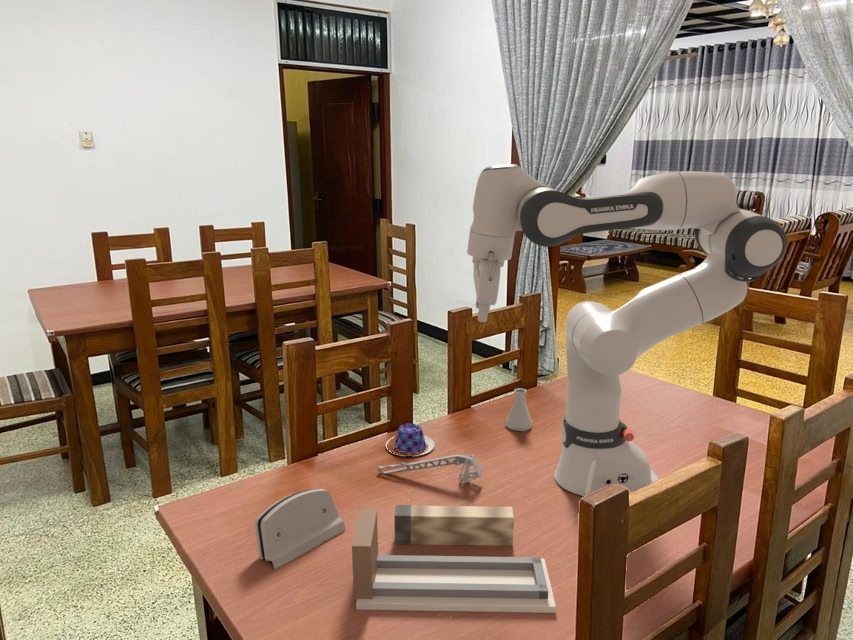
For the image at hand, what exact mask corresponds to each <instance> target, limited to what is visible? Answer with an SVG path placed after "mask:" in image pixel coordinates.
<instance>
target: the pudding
mask: <svg viewBox="0 0 853 640" xmlns="http://www.w3.org/2000/svg"><path fill="white" fill-rule="evenodd" d="M395 436H396V439H395V443H394V445H393V447H394V446H395V447H397V449H398V450H399V451H404V452H406V453H413V452H420V451H422V452H423V450H422V449H425V448H426V449H427V444H428V446H429V447H428V450H427V451H426V452H425V453H422V454H420V455H414V456H413V457H419V456H422V455H425V454H428V453H430V452H431V451H433V449H434V448H435V442H434V440H433V439H432V438H431V437H429V436H427V435H424V432H423V429H422V427H421V426H420V425H419V424H416V423H405V424H401V425H400V426H399V427H398V429H397V431H396V435H394V436H392V437H390V438H389V439H388V440H387V441H386V443H385V448H386V449H387V451H389V452H390V453H391V454H394V455H395V456H396V455H397V456H400V457H405V456H404V455H398V454H395V453H392V452H391V451H390V450H388V448H387V444H388V442H389V441H390V440H391V439H393V438H394V437H395ZM397 449H396V450H397ZM426 449H425V450H426ZM420 453H421V452H420ZM413 454H414V453H413Z"/></svg>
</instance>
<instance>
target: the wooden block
mask: <svg viewBox="0 0 853 640" xmlns="http://www.w3.org/2000/svg"><path fill="white" fill-rule="evenodd" d="M514 515H515V514H514V510H513V506H486V505H485V506H477V505H476V506H474V505H472V506H470V505H469V506H468V505H467V506H466V505H464V506H463V505H461V506H460V505H412V504H395V508H394V544H395V545H436V546H437V545H441V546H443V545H444V546H445V545H446V546H447V545H448V546H449V545H450V546H451V545H452V546H511V547H513V545H514V526H515V524H514V522H515V518H514V517H515V516H514Z"/></svg>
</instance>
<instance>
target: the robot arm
mask: <svg viewBox="0 0 853 640" xmlns="http://www.w3.org/2000/svg"><path fill="white" fill-rule="evenodd" d="M737 198H738V194H737V189H736V185H735V183H734V181H733V180H732V179H731V178H730V177H729V176H728V175H726V174H723V173H718V172H711V171H698V170H697V171H695V170H693V171H692V170H691V171H690V170H688V171H670V172H662V173H657V174H652V175H649V176H645V177H642V178H639V180H637V181H636V182H635V183H634V184H633V185H632V187H631V189H629V190H628V191H626V192H623V193H617V194H608V195H599V196H598V195H597V196H587V197H577V196H576V197H575V196H572V195H569V194H567V193H564V192H562V191H558V190H556V189H554V188H552V187H551V186H548V185H546V184H544V183H542V182H540V181H539V180H537V179H535V178H533V177H532V176H531V175H530V174H529V173H527V172H526V171H525V170H524V169H523V168H522V167H521V166H520V165H519V164H515V163H510V164H509V163H508V164H507V163H504V164H503V163H502V164H499V163H498V164H493V165H489V166H487V167H485V168H483V170H482V171H481V172H480V174H479V176H478V178H477V182H476V186H475V191H474V197H473V205H472V212H473V213H472V214H473V220H472V223H471V224H470V228H469V234H468V242H467V250H466V253H467V255H469V256H471V257H472V261H471V262H472V263H473V281H474V282H473V283H474V288H475V294H476V296H475V297H476V300H475V307H476V309H478V313H477V321H478V322H479V323H486V322H487V321H488V318H489V317H488V316H489V313H490V309H491V306H495V305H497V301H498V296H499V295H498V294H499V287H500V279H501V268H503V267H504V264H505V262H506V261H510V260H511V259H512V257H513V256H512V255H513V248H514V243H515V237H516V236H515V235H516V232H518V231H519V232H520V231H521V232H523V235H525V237H526V238H527V239H528V240H529V241H530V242H532V243H533V244H535V245H537V246H540V247H544V248H545V247H547V248H549V247H550V248H551V247H557V246H560V245H562V244H564V243H566V242H568V241H570V240H572V239H574V238H576V237H578V236H581V235H584V234H589V233H598V232H607V231H615V230H623V229H624V230H625V229H637V230H638V229H639V230H647V231H649V230H650V231H675V230H676V231H677V230H686V229H693V235H694V239H695V242H696V245H697V247H699V249H700V250H701V251H702V253H704V254H705V255H707V257H706V258H705V259H704V260H703V261H702V262H701V263H700V264H698V265H697V266H695V267H694V268H692V269H689V270H687V271H683V272H681V273H678V274H676V275H674V276H671V277H668V278H666V279H664V280H661V281H659V282H657V283H654V284H652V285H649V286H647V287H645V288H642V289H641V290H640V291H639V292H638V293H637V295H636V296H635V297H633V298H632V299H630V300H629V301H628V302H626V303H625V304H623V305H621V306H620V307H618V308H617V309H614V310H612V309H611V308H609V306H607V305H605V304H604V303H600V302H596V301H591V300H585V301H582V302H579V303H577V304H575V305H574V306H572V307H571V308H570V309H569V310H568V313H567V315H566V318H565V334H566V336H565V341H566V342H565V343H566V344H565V350H566V355H565V356H566V370H567V371H566V372H567V373H566V374H567V395H566V396H567V397H566V411H565V416H564V418H563V422H562V423H563V425H562V429H561V430H562V431H561V441H562V447H561V452H560V457H559V460H558V464H557V467H556V469H555V471H554V474H553V475H554V480H555V482H556V483H557V484H558V485H559V486H560V487H561V488H563V489H564V490H565V491H569V492H571V493H573V494H575V495H579V496H580V497H581V496H582V497H583V498H585V497H584V496H585V495H588V494H590V493H592V492H594V491H597V490H599V489H601V488H604V487H606V486H609V485H612V484H619V485H623V486H625V487H627V488H628V489H629V490H630V492H633V491H637V490H638V489H640V488H643V487H645V486H647V485H649V484H651V483H652V482H654V481H656V480H658V479H659V477H658V475H657V474H656V473H655V472H654V470H653V469H652V468H651V464H650V461H649V457H648V456H647V454H646V453H645V452H644V451H643V450H642V449H641V448H640V447H639V446H638V445H637V444H635V442H633V440H634V438H635V435H634V433H633V431H632V430H631V429H629V428H628V426H627V425H626V424H625V423H624V422H623V421H622V419H620V414H621V413H620V412H621V411H620V410H621V400H622V384H621V379H620V375H623V374H624V373H626V372H627V371H629V370H630V369H632V367H633V366H634V365H635V363H636V361H637V359H638V358H639V357H640V356H642V355H643V354H645V353H646V352H647V351H649V350H650V349H652V348H654V346H656V345H658V344H659V343H661V342H662V341H664V340H667V339H668V338H670V337H673V336H676V335H678V334H681V333H683V332H685V331H688V330H691V329H692V328H695V327H697V326H700V325H702V324H705V323H707V322H709V321H712V320H714V319H715V318H718V317H720V316H721V315H723V314H726V313H727V312H728V311H731V310H732V309H734V308H735V307H737V306H738V305H740V304H741V303H742V302H743V301H744V300H745V298H746V296H747V293H748V284H747V283H749V282H755V281H758V280H759V279H760V278H761V277H762V276H763V275H764V274H765V273H767V272H768V271H770V270H772V269H773V268H774V267H775V266H776V265H777V264H779V262H780V261H781V260H782V259H783V257H784V255H786V252H787V248H788V238H787V234H786V233H785V231H784V229H783V227H782V226H781V225H780V224H779V223H778V222H777V221H775V220H773V219H771V218H769V217H768V216H767V217H766V216H763V215H761V214H759V213H757V212H754V211H752V210H747V209H743V208H739V206H738V204H737ZM750 278H752V279H750Z"/></svg>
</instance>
